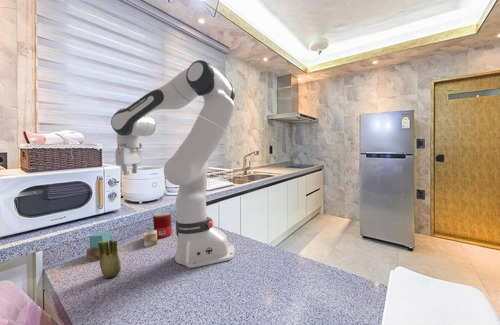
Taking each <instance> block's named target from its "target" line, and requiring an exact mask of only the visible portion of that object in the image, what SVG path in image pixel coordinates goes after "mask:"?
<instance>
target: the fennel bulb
mask: <svg viewBox="0 0 500 325" xmlns="http://www.w3.org/2000/svg"><path fill="white" fill-rule="evenodd" d="M98 245H99V259H98V260H99V266H100V271H101V273H102V275H103V277H104V278H105V279H111V278H114V277H116V276H117V275H118V274H120V273H121V271H122V270H121V260H120V257H119V253H118V240H117V239H115V240H114V239H111V240H109V245H108V241H104V242H103V241H101V242H98Z"/></svg>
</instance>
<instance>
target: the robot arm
mask: <svg viewBox="0 0 500 325" xmlns="http://www.w3.org/2000/svg"><path fill="white" fill-rule="evenodd" d="M201 96H202V97H203V106H202V109H201V110H200V112H199V113H198V114H199V115H198V116H197V117H196V120H195V122H194V124H192V128H191V130H190V132H189V133H188V135H187V136H186V138H185V139H184V140H183V141H182V142H181V144H180V146H179V147H178V148H177V150H176V151H175V153H174V154H173V155H172V156H171V157H170V158H169V159H167V161H166V162H165V164H164V167H163V174H164V177H165V179H166V180H167V181H168V182H169V183H170V184H171V185H175V186H178V192H177V196H176V198H175V214H176V221H175V234H176V237H177V238H176V250H175V256H174V261H175V262H176V263H177V264H180V265H183V266H185V267H186V268H188V269H192V268H197V267H203V266H208V265H212V264H218V263H221V262H228V261H230V260H232V259H233V258H234V256H235V252H236V250H235V247H234V245H233V244H232V243H231V242H229V239H228V236H227V235H226V234H225V233H224V232H223V231H222V230H220V229H218V228H216V227H215V226H214V222H213V217H209V216H207V215H208V214H207V211H208V210H207V186H208V173H209V168H210V166H209V163H208V160H209V158H210V157H211V155H212V154H213V153H214V152H215V150H216V149H217V148H218V145H219V143H220V141H221V140H222V138H223V135H224V134H225V132H226V130H227V129H228V126H229V125H230V123H231V122H230V121H231V119H232V116H233V113H234V110H235V103H234V100H235V96H236V90H235V88H234V86H233V85H232V83H231V82H229V80H228V79H227V78H226V77H225V76H224V75H223V74H222V73H221V71H219V70H218V69H217V68H215V67H214V66H213V65H212V64H211V63H209V62H207V61H205V60H204V59H199V60H195V61H193V62H192V63H191V64H190V65H189V67H187V68H186V69H184V70H182V71H181V72H180V73H178V74H177V75H175V76H174V77H173V78H172V79H171V80H169V81H168V82H167V83H165V84H163V85H161V87H159V88H156V89H153V90H152V91H150V92H147V93H146V94H144V95H143V96H142V97H140V98H139V99H137V100H136V101H134V102H133V103H132V104H130V105H128V107H126V108H125V107H124V108H123V107H122V108H120V109H119V108H118V110H116V112H115V113H114V114H113V116H112V117H111V119H110V125H111V127H112V130H113V131H114V132H115V133H116V134H117V135H116V144H117V146H116V147H117V148H115V153H114V154H115V156H114V157H115V158H114V159H115V164H116V165H117V166H120V168H121V170H122V173H123V174H122V175H123V176H128V175H130V171H129V170H128V167H129V166H128V165H131V167H132V169H131V173H132V174H137V173H138V164H141V163H142V148H143V145H142V143H141V142H140V140H139V137H148V136H152V135H153V134H154V132H155V131H156V121H155V119H154V118H153V117H152V116H150V115H149V114H150V113H152V112H155V111H158V110H159V111H160V110H179V109H181V108H184V107H186V106H187V105H189V104H190V103H192V102H193V101H194V100H195V99H196V98H197V97H201Z"/></svg>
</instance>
